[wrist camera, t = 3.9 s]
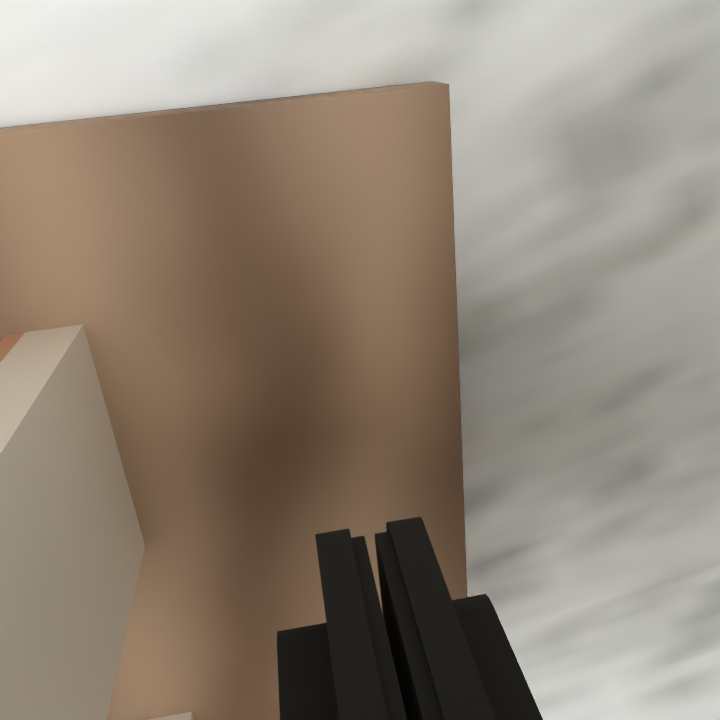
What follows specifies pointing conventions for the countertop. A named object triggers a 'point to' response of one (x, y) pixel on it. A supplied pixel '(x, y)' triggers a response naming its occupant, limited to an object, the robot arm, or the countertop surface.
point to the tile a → (61, 532)
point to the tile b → (177, 717)
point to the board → (250, 355)
